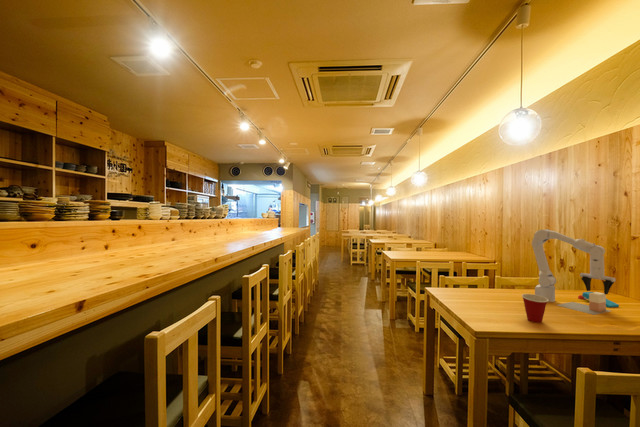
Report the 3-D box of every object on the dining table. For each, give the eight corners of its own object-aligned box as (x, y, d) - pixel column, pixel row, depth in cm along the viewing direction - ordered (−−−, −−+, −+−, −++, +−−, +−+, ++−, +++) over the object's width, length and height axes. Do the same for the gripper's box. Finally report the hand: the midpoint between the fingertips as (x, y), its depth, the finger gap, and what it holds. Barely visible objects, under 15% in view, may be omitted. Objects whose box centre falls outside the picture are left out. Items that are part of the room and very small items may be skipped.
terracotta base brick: (589, 309, 158) (589, 301, 158) (596, 308, 161) (596, 299, 161) (598, 311, 155) (598, 303, 155) (605, 310, 157) (605, 301, 157)
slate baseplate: (555, 306, 166) (555, 304, 166) (572, 303, 173) (572, 301, 173) (594, 316, 150) (594, 314, 150) (612, 312, 156) (612, 310, 156)
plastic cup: (534, 325, 137) (534, 300, 137) (516, 317, 147) (516, 294, 147) (554, 324, 138) (554, 299, 138) (535, 316, 149) (535, 293, 149)
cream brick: (589, 301, 158) (589, 293, 158) (596, 300, 161) (596, 291, 161) (598, 303, 155) (598, 294, 155) (605, 302, 157) (605, 293, 157)
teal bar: (615, 315, 165) (582, 298, 182) (619, 305, 163) (585, 288, 180) (605, 316, 163) (573, 299, 181) (609, 305, 162) (576, 289, 179)
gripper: (576, 265, 163) (577, 289, 163) (610, 270, 150) (610, 296, 150) (584, 265, 166) (584, 288, 166) (617, 269, 152) (617, 295, 152)
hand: (597, 292), depth 158 cm, fingers open, 7 cm apart
